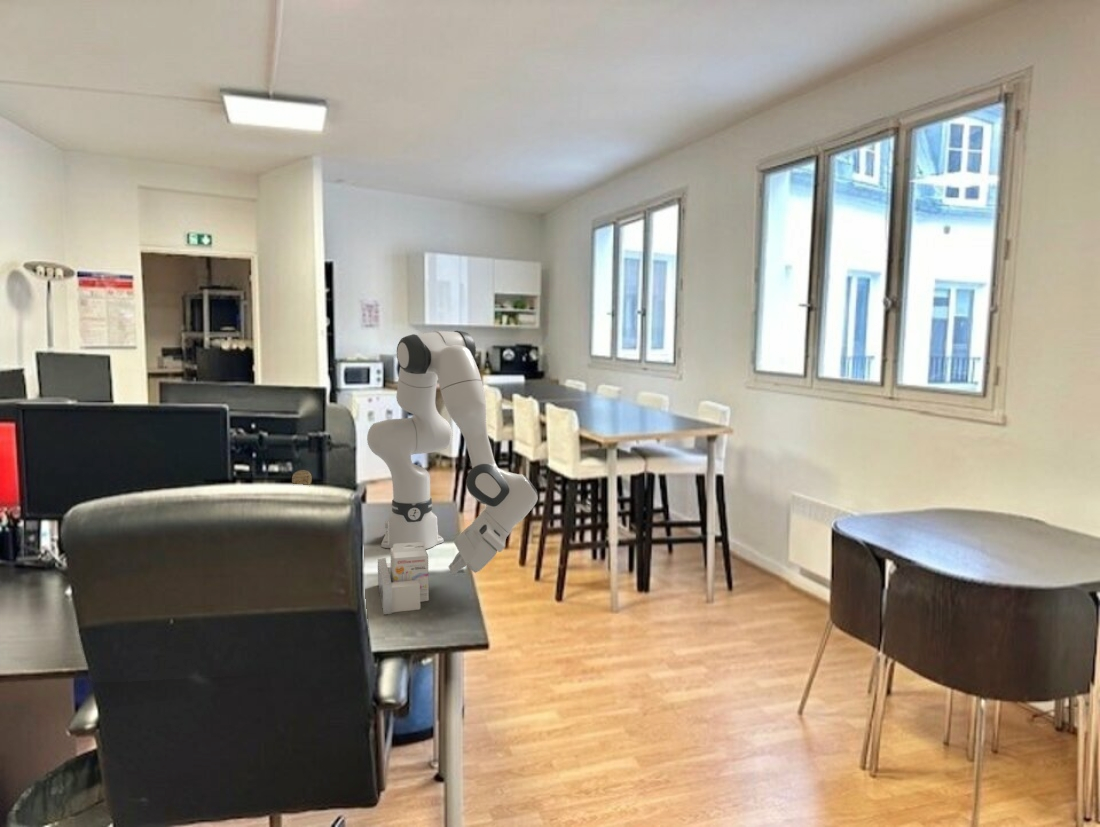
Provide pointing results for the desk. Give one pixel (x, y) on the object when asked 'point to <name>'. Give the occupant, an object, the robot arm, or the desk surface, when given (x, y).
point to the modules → (405, 594)
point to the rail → (385, 586)
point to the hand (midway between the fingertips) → (451, 570)
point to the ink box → (411, 565)
